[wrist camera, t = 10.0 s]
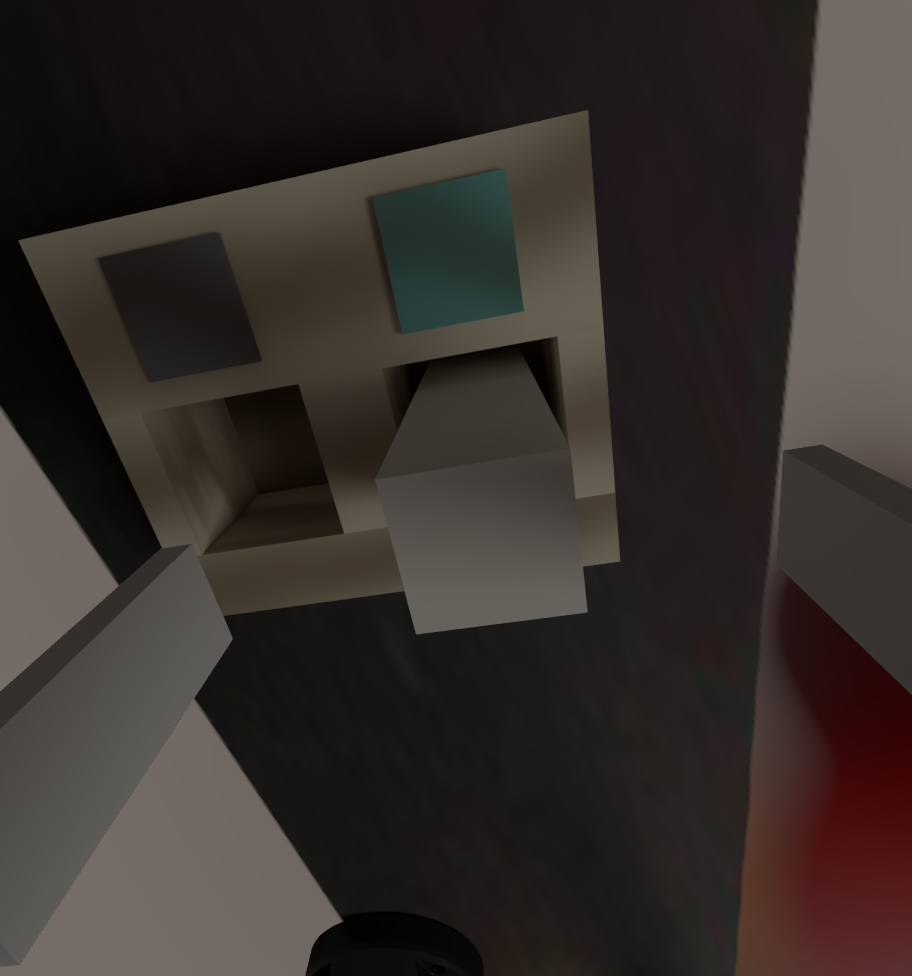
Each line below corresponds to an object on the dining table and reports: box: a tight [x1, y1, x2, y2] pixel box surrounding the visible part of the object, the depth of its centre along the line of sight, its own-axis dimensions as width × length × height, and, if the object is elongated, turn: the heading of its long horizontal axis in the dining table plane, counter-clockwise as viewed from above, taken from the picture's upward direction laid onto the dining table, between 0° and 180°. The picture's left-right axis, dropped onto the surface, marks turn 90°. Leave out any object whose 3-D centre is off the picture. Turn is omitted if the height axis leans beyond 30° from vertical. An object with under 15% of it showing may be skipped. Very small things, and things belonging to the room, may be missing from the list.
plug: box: [375, 345, 587, 634], centre depth 18 cm, size 4×4×14 cm
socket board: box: [18, 110, 620, 616], centre depth 22 cm, size 15×18×7 cm
